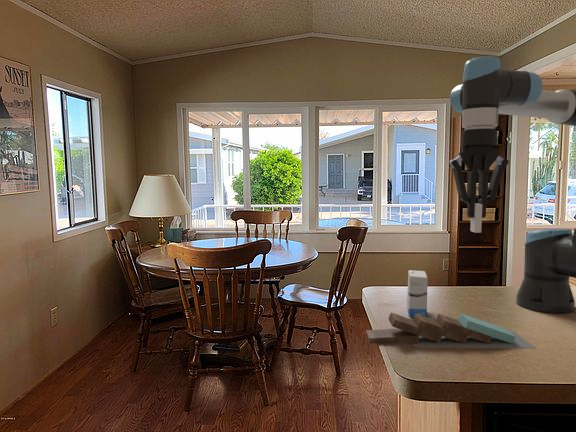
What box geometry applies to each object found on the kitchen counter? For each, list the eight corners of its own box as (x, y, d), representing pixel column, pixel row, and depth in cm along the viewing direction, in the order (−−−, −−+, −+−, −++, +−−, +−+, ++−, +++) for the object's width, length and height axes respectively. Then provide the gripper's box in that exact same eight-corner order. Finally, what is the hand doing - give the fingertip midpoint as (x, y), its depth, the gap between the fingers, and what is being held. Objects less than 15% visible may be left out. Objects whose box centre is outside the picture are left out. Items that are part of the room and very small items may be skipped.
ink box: (427, 319, 121) (428, 277, 120) (408, 318, 122) (409, 276, 121) (424, 309, 130) (425, 270, 128) (406, 308, 131) (407, 269, 129)
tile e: (413, 327, 109) (366, 330, 109) (419, 335, 103) (369, 338, 104) (413, 334, 109) (366, 337, 109) (419, 343, 104) (369, 345, 104)
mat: (514, 333, 110) (515, 331, 110) (535, 349, 100) (536, 348, 100) (405, 333, 111) (405, 331, 111) (415, 349, 101) (415, 347, 101)
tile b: (483, 328, 108) (438, 313, 108) (492, 336, 103) (445, 320, 103) (480, 335, 108) (435, 320, 108) (489, 343, 103) (442, 327, 103)
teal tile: (505, 328, 108) (460, 313, 108) (515, 336, 103) (468, 320, 103) (502, 335, 108) (457, 320, 108) (512, 343, 103) (465, 327, 103)
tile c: (460, 328, 108) (415, 313, 108) (467, 336, 103) (420, 320, 103) (457, 335, 108) (412, 319, 108) (465, 343, 103) (418, 327, 103)
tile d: (435, 327, 108) (390, 312, 108) (442, 335, 103) (395, 319, 103) (432, 334, 109) (388, 319, 109) (439, 342, 103) (392, 326, 103)
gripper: (501, 130, 104) (497, 229, 107) (445, 130, 105) (442, 229, 107) (516, 127, 97) (511, 234, 99) (456, 127, 97) (452, 234, 100)
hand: (475, 231), depth 103 cm, fingers closed
